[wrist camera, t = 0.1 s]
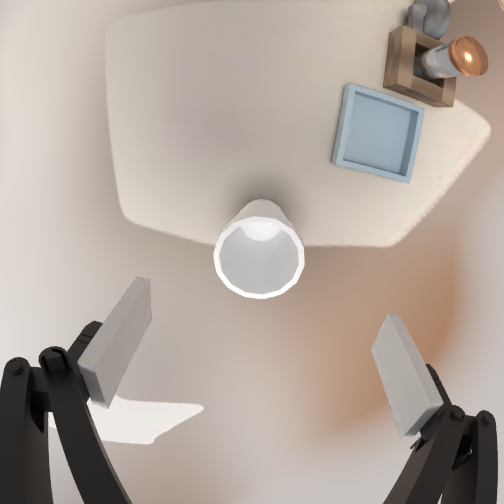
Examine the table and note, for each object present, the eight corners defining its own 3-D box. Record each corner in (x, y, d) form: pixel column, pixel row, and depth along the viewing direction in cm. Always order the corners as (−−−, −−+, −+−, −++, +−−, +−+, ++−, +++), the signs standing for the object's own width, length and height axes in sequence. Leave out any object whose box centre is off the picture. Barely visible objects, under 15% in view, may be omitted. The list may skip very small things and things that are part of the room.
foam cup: (299, 193, 41) (312, 223, 29) (289, 253, 44) (296, 302, 33) (231, 184, 41) (216, 211, 29) (225, 245, 44) (210, 292, 33)
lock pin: (402, 51, 31) (458, 29, 17) (427, 62, 31) (488, 47, 17) (399, 78, 32) (457, 64, 19) (424, 88, 33) (487, 81, 19)
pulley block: (392, -9, 26) (413, -28, 19) (442, 14, 26) (468, 2, 19) (382, 87, 33) (407, 81, 26) (435, 107, 34) (465, 107, 26)
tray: (344, 86, 34) (350, 83, 31) (414, 108, 34) (424, 108, 31) (330, 161, 39) (335, 165, 36) (400, 179, 39) (409, 183, 36)
